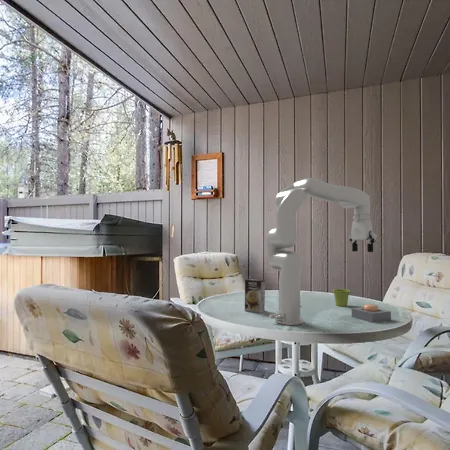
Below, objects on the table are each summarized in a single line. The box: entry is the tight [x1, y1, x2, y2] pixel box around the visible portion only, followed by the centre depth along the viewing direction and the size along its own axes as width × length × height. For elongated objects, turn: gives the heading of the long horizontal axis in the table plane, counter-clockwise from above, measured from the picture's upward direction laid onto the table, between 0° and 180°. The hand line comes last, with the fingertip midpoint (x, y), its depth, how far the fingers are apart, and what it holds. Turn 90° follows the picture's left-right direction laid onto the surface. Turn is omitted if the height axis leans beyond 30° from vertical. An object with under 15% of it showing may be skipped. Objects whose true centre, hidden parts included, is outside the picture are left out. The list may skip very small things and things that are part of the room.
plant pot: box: [332, 288, 351, 307], centre depth 180 cm, size 9×9×9 cm
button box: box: [351, 306, 392, 323], centre depth 149 cm, size 12×12×4 cm
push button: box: [363, 303, 379, 312], centre depth 149 cm, size 6×6×3 cm
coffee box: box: [244, 278, 266, 314], centre depth 164 cm, size 9×6×16 cm
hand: (362, 251), depth 161 cm, fingers open, 9 cm apart
